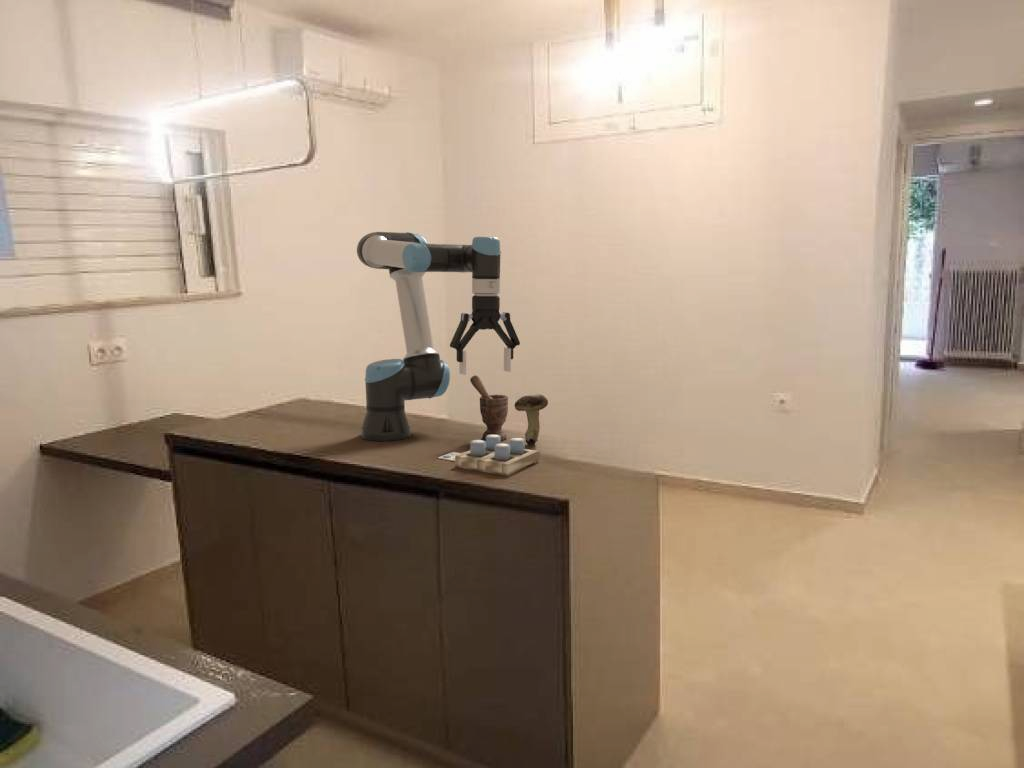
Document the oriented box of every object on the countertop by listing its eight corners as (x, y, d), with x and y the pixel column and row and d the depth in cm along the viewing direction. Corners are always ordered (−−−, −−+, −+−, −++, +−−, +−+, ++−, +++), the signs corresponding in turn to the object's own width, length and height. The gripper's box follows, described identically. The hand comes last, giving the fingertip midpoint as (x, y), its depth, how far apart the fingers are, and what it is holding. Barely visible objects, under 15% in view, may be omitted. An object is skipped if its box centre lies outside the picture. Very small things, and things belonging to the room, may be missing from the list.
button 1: (467, 455, 187) (467, 442, 187) (475, 452, 191) (475, 439, 190) (480, 457, 185) (480, 443, 185) (488, 454, 189) (488, 440, 188)
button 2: (483, 449, 194) (483, 436, 193) (490, 446, 197) (490, 433, 196) (495, 451, 192) (495, 438, 191) (503, 448, 195) (503, 435, 194)
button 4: (506, 453, 190) (506, 439, 189) (514, 450, 193) (514, 437, 193) (519, 455, 188) (519, 441, 187) (527, 452, 191) (527, 438, 191)
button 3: (491, 459, 183) (491, 445, 183) (499, 456, 187) (499, 442, 186) (504, 461, 181) (504, 447, 181) (512, 458, 185) (512, 444, 184)
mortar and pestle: (486, 445, 211) (486, 378, 208) (466, 440, 216) (466, 375, 213) (513, 438, 219) (513, 374, 216) (493, 434, 225) (493, 371, 222)
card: (437, 458, 195) (437, 457, 195) (452, 453, 201) (452, 451, 201) (459, 462, 192) (459, 460, 192) (473, 456, 198) (473, 455, 198)
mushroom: (553, 444, 212) (554, 394, 209) (534, 450, 205) (535, 398, 203) (529, 439, 218) (529, 391, 215) (510, 444, 211) (510, 394, 209)
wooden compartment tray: (455, 466, 187) (455, 455, 186) (488, 453, 200) (488, 443, 200) (507, 476, 179) (507, 464, 178) (538, 461, 192) (538, 450, 192)
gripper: (448, 296, 184) (448, 377, 188) (532, 295, 196) (531, 371, 200) (437, 294, 191) (438, 373, 194) (519, 294, 203) (518, 368, 206)
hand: (485, 372), depth 197 cm, fingers open, 13 cm apart
